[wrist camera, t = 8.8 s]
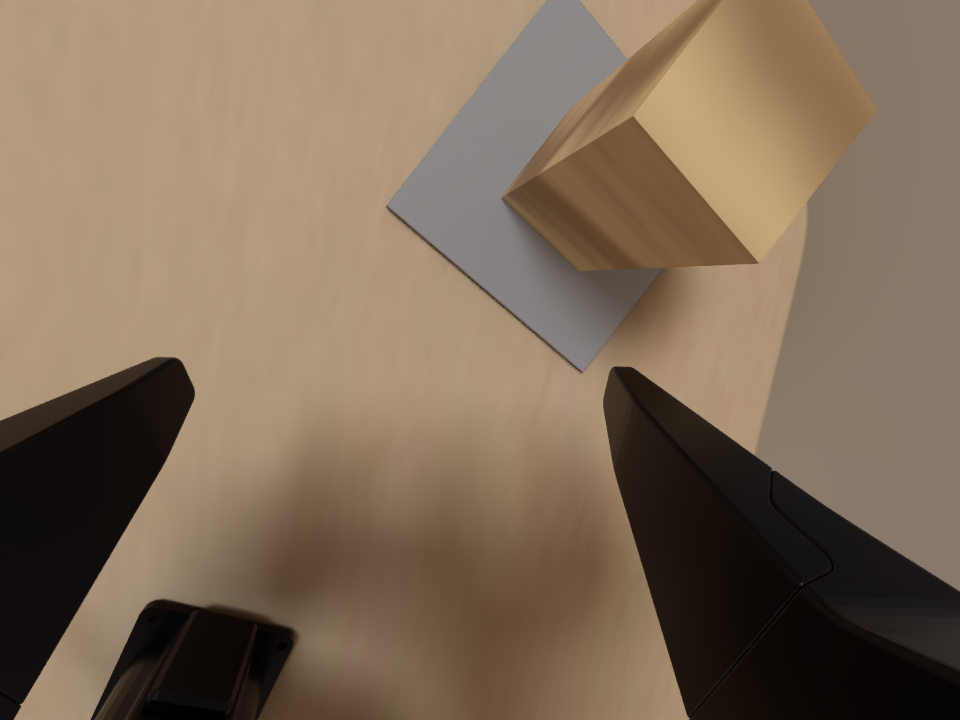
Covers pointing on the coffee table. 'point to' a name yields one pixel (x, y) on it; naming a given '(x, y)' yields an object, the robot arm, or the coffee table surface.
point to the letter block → (697, 142)
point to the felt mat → (493, 168)
